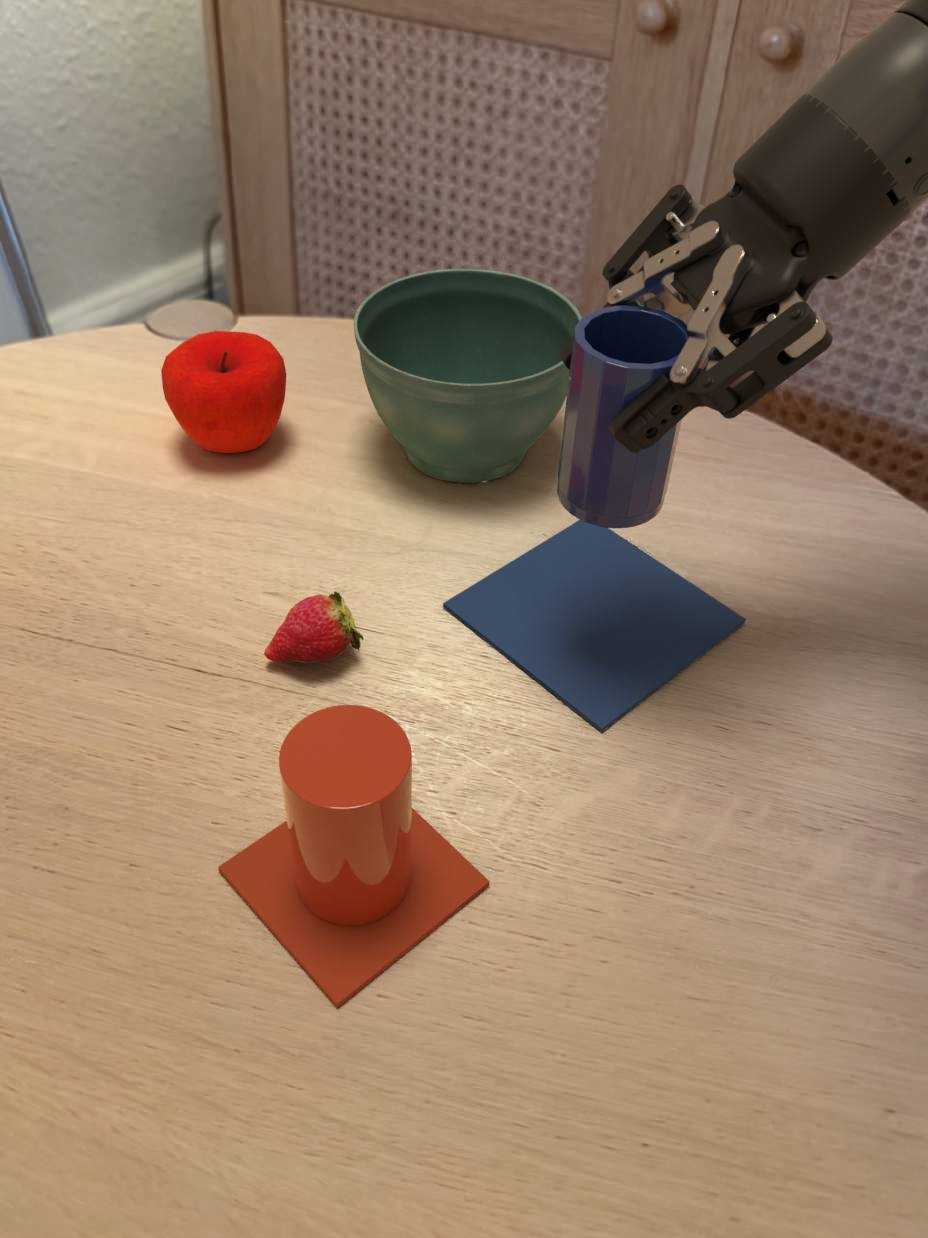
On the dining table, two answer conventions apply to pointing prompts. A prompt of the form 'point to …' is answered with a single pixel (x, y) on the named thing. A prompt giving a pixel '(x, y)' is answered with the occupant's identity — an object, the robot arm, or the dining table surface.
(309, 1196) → the dining table surface
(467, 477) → the flower pot
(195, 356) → the apple
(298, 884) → the tall red cylinder
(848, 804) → the dining table surface
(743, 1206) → the dining table surface
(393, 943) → the red mat
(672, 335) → the blue cup
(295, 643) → the fruit
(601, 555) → the blue mat
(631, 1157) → the dining table surface
